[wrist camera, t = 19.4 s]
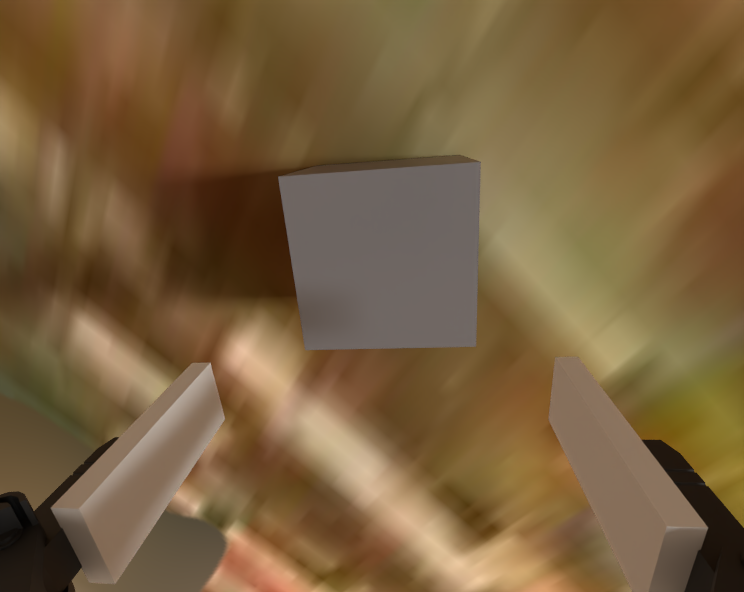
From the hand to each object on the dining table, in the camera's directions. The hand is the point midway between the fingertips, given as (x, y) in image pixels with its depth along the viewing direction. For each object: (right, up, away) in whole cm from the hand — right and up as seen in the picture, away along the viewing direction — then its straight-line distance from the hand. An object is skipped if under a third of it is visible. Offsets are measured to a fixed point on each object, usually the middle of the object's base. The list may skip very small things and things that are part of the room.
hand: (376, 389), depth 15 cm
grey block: (+1, +8, +15) cm, 17 cm away
